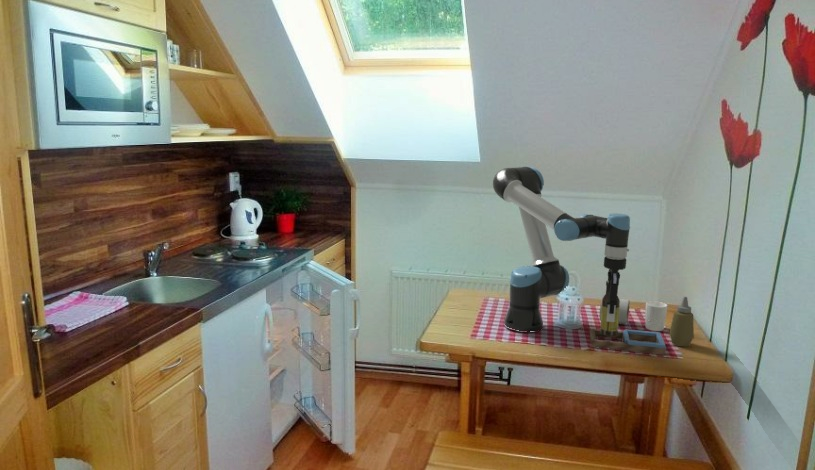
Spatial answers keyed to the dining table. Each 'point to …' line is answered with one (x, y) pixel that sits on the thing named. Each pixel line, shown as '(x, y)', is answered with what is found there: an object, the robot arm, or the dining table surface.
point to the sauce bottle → (605, 326)
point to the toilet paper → (621, 311)
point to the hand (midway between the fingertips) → (609, 318)
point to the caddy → (630, 345)
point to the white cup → (655, 315)
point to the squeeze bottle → (682, 325)
